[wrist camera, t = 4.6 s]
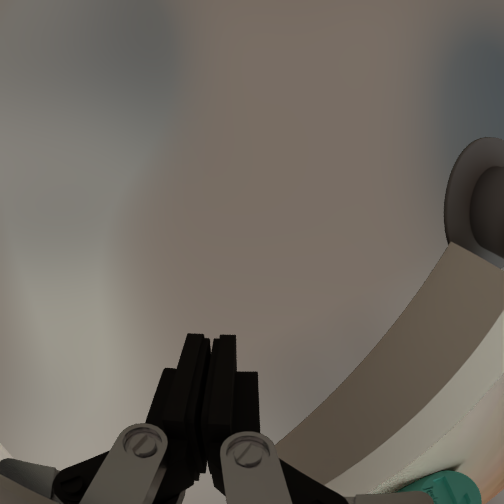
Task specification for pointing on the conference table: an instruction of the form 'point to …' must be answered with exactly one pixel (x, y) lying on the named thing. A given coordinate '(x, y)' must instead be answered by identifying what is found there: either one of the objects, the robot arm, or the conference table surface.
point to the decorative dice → (447, 488)
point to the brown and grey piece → (477, 200)
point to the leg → (409, 381)
